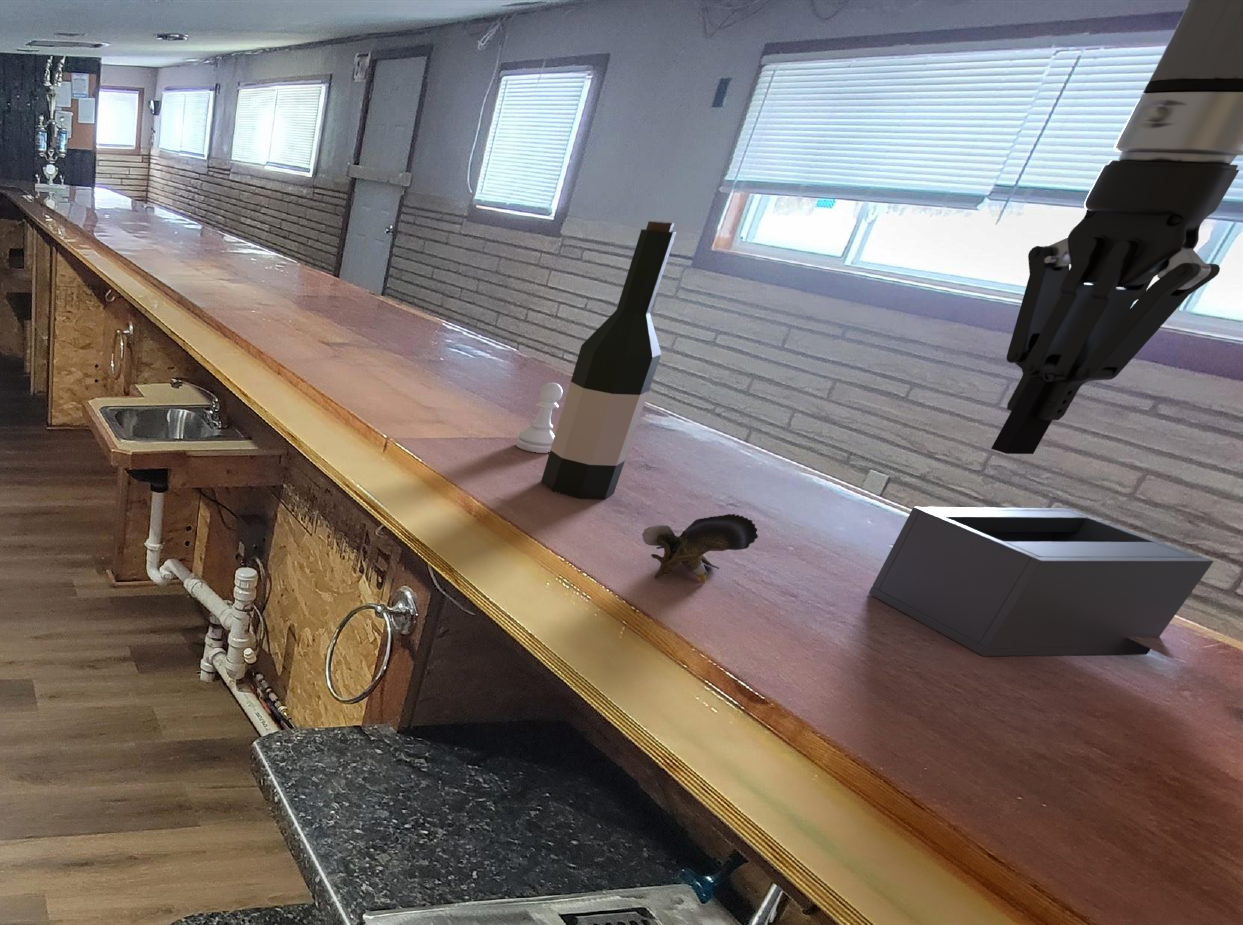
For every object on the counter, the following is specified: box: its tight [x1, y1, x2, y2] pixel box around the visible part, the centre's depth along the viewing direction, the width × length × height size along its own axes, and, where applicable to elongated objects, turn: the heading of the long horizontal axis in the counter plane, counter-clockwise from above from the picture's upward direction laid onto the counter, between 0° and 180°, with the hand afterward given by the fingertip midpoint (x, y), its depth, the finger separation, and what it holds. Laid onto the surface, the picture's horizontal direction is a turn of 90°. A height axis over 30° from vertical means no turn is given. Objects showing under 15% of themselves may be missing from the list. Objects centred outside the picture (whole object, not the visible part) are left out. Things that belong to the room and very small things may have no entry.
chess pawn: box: [515, 382, 563, 454], centre depth 124 cm, size 5×5×9 cm
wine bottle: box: [540, 220, 677, 500], centre depth 105 cm, size 8×8×30 cm
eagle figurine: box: [641, 513, 759, 584], centre depth 89 cm, size 8×7×9 cm
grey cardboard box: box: [868, 506, 1215, 657], centre depth 81 cm, size 16×9×12 cm
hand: (1012, 451), depth 83 cm, fingers closed
